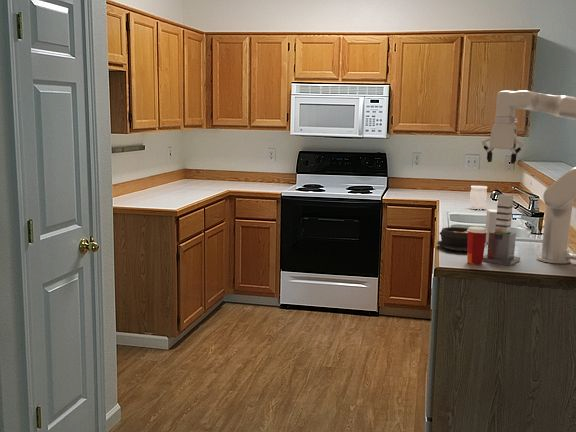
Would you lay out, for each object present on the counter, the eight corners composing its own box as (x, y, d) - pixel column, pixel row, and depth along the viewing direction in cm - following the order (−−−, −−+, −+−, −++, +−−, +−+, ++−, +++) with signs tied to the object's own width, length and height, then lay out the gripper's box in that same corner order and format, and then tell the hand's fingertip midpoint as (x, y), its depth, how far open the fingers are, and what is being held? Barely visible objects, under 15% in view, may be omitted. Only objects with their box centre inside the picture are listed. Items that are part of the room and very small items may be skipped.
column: (509, 240, 251) (513, 195, 248) (505, 241, 247) (509, 196, 245) (498, 238, 254) (502, 194, 251) (494, 239, 250) (498, 195, 247)
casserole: (482, 256, 260) (484, 236, 259) (436, 252, 264) (437, 233, 263) (479, 245, 284) (480, 226, 283) (436, 242, 288) (438, 224, 287)
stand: (520, 261, 253) (522, 232, 251) (510, 265, 243) (513, 236, 242) (490, 256, 260) (493, 228, 258) (480, 260, 251) (482, 232, 249)
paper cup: (488, 263, 247) (491, 228, 244) (479, 266, 241) (482, 230, 239) (469, 260, 252) (472, 225, 250) (460, 262, 246) (463, 227, 244)
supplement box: (507, 245, 286) (510, 212, 283) (487, 244, 287) (489, 211, 285) (503, 241, 294) (506, 210, 292) (484, 240, 296) (486, 208, 294)
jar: (475, 207, 412) (476, 184, 409) (489, 209, 404) (490, 186, 401) (465, 208, 405) (467, 185, 403) (479, 210, 397) (481, 187, 395)
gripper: (528, 122, 258) (524, 163, 260) (487, 120, 268) (484, 161, 271) (523, 121, 252) (519, 164, 254) (480, 120, 262) (477, 161, 265)
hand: (501, 162), depth 263 cm, fingers open, 9 cm apart
